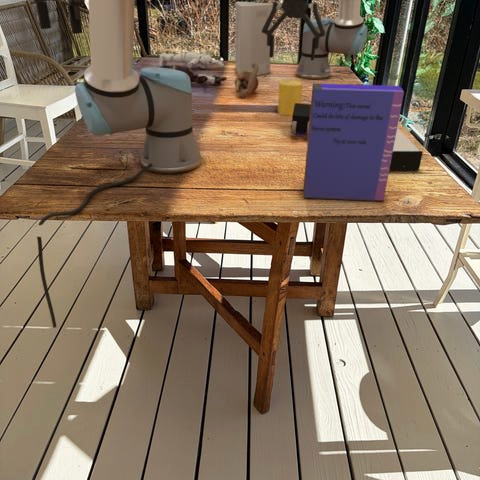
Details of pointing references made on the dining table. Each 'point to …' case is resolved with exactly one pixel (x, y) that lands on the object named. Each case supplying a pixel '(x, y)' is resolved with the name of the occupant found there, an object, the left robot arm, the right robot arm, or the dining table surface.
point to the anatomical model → (247, 81)
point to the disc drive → (405, 154)
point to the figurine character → (301, 119)
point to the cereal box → (351, 141)
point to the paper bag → (252, 37)
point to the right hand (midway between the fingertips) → (291, 58)
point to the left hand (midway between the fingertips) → (61, 31)
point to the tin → (289, 96)
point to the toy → (188, 59)
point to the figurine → (200, 79)
